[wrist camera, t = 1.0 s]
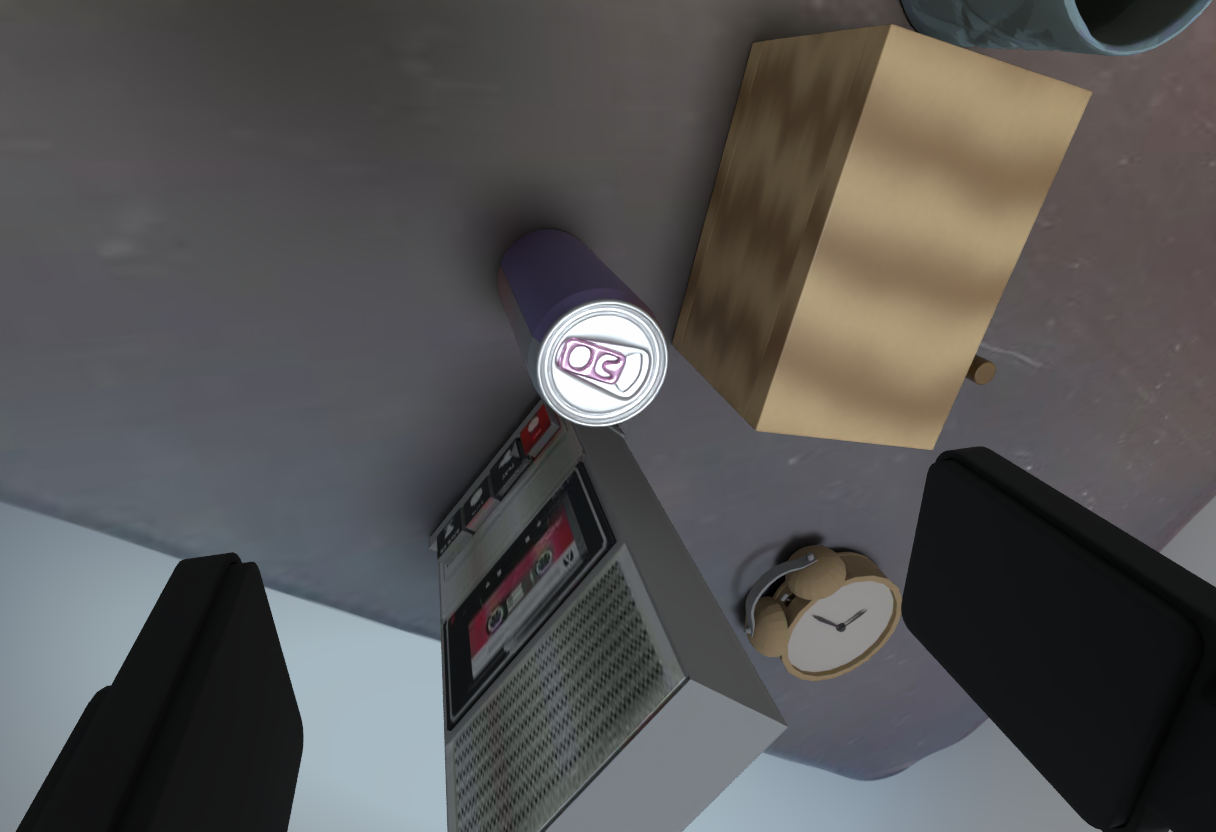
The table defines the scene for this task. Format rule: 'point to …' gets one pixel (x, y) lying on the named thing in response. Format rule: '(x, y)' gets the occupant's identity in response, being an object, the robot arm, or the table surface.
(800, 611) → the alarm clock
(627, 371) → the beverage can
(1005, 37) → the blue-grey pot
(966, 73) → the curio cabinet
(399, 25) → the table surface
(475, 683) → the cassette tape recorder
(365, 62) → the table surface
